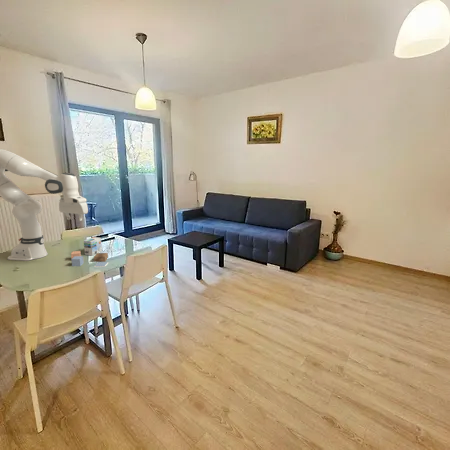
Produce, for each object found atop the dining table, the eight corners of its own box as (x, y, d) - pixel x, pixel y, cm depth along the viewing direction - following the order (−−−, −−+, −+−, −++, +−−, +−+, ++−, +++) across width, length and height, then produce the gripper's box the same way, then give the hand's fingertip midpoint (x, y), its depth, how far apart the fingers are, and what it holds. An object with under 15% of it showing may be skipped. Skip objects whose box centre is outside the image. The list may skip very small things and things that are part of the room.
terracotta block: (71, 260, 172) (71, 254, 171) (73, 258, 177) (72, 251, 176) (80, 260, 174) (79, 253, 173) (81, 257, 179) (80, 250, 177)
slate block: (72, 266, 164) (71, 259, 163) (75, 263, 169) (74, 256, 167) (80, 266, 164) (79, 259, 163) (83, 263, 169) (82, 256, 168)
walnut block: (94, 262, 172) (93, 256, 171) (97, 258, 179) (97, 253, 178) (105, 262, 173) (104, 256, 172) (108, 258, 180) (107, 252, 179)
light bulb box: (92, 255, 182) (91, 241, 180) (84, 254, 183) (83, 240, 181) (102, 251, 192) (101, 237, 190) (94, 250, 194) (93, 236, 191)
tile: (94, 267, 164) (94, 266, 164) (97, 262, 170) (97, 262, 170) (105, 266, 165) (105, 265, 165) (108, 262, 171) (108, 261, 171)
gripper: (54, 198, 161) (58, 219, 164) (80, 200, 155) (83, 222, 159) (63, 197, 167) (66, 217, 170) (88, 199, 161) (90, 220, 164)
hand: (74, 220), depth 164 cm, fingers open, 8 cm apart
